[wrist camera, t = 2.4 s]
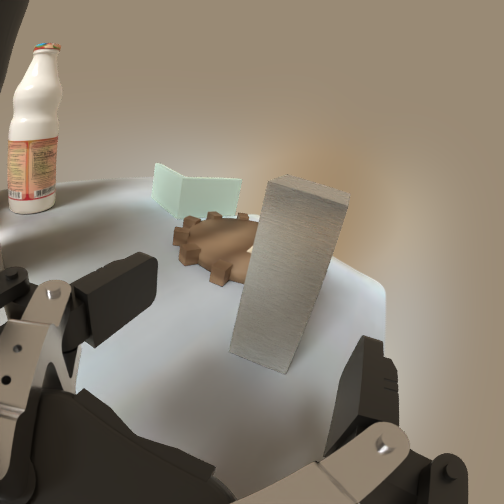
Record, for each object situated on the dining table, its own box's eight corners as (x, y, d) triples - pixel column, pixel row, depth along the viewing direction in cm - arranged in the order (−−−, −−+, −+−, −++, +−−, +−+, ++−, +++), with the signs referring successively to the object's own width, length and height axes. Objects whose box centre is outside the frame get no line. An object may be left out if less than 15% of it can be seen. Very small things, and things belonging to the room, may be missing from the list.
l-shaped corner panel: (234, 218, 55) (242, 179, 52) (176, 222, 47) (182, 178, 44) (202, 198, 63) (208, 164, 60) (151, 200, 55) (155, 163, 52)
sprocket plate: (139, 252, 35) (140, 237, 34) (216, 213, 54) (218, 203, 53) (309, 319, 30) (315, 304, 29) (331, 251, 49) (334, 240, 48)
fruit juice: (2, 216, 34) (16, 42, 22) (16, 198, 41) (30, 51, 30) (50, 214, 39) (70, 38, 27) (59, 197, 46) (76, 49, 34)
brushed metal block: (228, 351, 23) (268, 181, 17) (249, 320, 28) (287, 174, 22) (285, 374, 22) (348, 205, 16) (299, 339, 26) (350, 193, 21)
